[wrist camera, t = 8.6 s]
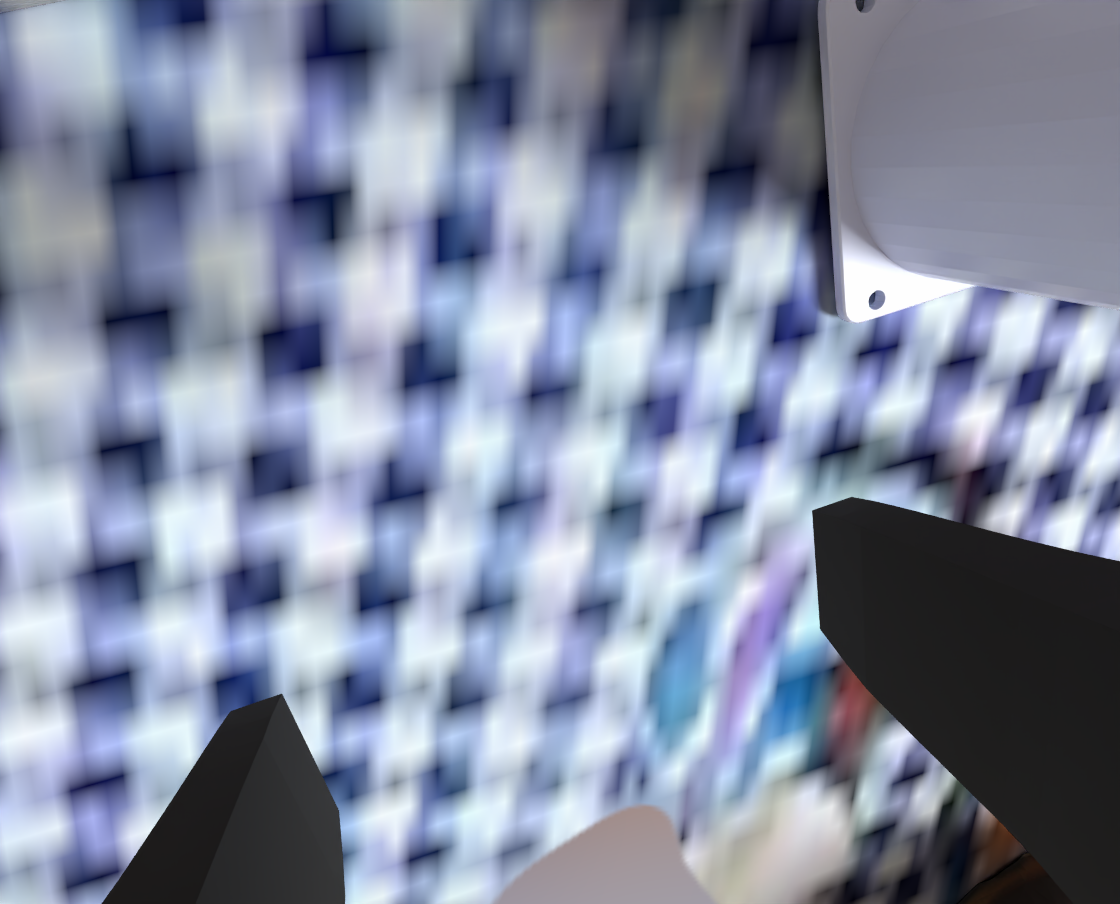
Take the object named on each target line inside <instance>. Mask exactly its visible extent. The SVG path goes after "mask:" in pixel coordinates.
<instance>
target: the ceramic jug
mask: <svg viewBox="0 0 1120 904" xmlns="http://www.w3.org/2000/svg"><path fill="white" fill-rule="evenodd" d="M958 904H1073V903H1072V902H1071V900H1070V899H1069V898H1068V897H1067V896H1066V894H1065V893H1064V892H1063V891H1062V890H1061V889H1060V887H1059V886H1058V885H1057V884H1056V883H1055V882H1054V880H1053V879H1052V878H1051V877H1050V876H1049V874H1048V873H1047V872H1046V871H1045V870H1044V869H1043V867H1042V866H1041V865H1040V864H1039V863H1038V862H1037V860H1036V859H1035V858H1034V857H1033V856H1032V855H1031V854H1030V853H1027V854H1023V855H1022V856H1021V858H1020V859H1019V860H1018V861H1017V862H1015V863H1014V864H1012V865H1011V866H1009V867H1008V868H1006V869H1005V870H1003V871H1002V872H1001V873H999V874H998V875H997V876H995V877H994V878H993V879H991V880H988V881H985V882H982V883H980V884H977V885H976V886H975V887H974V888H973V889H972V890H971V891H970V892H969V893H968V894H967V895H966V896H965V897H964V898H963V899H962V900H961V901H960V902H959V903H958Z"/></svg>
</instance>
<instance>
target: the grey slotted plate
mask: <svg viewBox="0 0 1120 904" xmlns="http://www.w3.org/2000/svg"><path fill="white" fill-rule="evenodd" d="M60 1H65V0H0V13H4V12H9V11H14V10H19V9H24V8H29V7H34V6H39V5H45V4H50V3H55V2H60Z"/></svg>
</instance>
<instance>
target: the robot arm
mask: <svg viewBox="0 0 1120 904" xmlns="http://www.w3.org/2000/svg"><path fill="white" fill-rule="evenodd" d="M855 1H856V0H819V3H818V26H819V42H820V58H821V74H822V90H823V106H824V122H825V138H826V154H827V170H828V186H829V202H830V218H831V234H832V250H833V266H834V282H835V298H836V310H837V314H838V316H839V317H840V318H841V319H842V320H844V321H847V322H850V323H854V324H855V323H862V322H865V321H868V320H871V319H874V318H877V317H881V316H884V315H887V314H890V313H893V312H896V311H899V310H902V309H906V308H909V307H912V306H915V305H918V304H921V303H924V302H927V301H931V300H934V299H937V298H940V297H943V296H946V295H949V294H952V293H955V292H959V291H962V290H965V289H968V288H971V287H974V286H981V287H987V288H993V289H999V290H1004V291H1010V292H1016V293H1022V294H1028V295H1033V296H1039V297H1045V298H1051V299H1057V300H1062V301H1068V302H1074V303H1080V304H1085V305H1091V306H1097V307H1103V308H1109V309H1114V310H1120V0H864V8H863V10H862V11H861V12H860V11H859V10H858V9H857V7H856V3H855ZM873 292H875V294H876V296H875V301H874V302H873V304H872V305H871V306H869V304H868V301H869V297H870V296H871V294H872V293H873ZM812 514H813V529H814V544H815V559H816V574H817V589H818V604H819V619H820V629H821V631H822V632H823V633H824V635H825V636H826V637H827V639H828V640H829V641H830V643H831V644H832V645H833V647H834V648H835V649H836V651H837V652H838V653H839V655H840V656H841V657H842V659H843V660H844V661H845V663H846V664H847V665H848V666H849V668H850V669H851V670H852V671H853V673H854V674H855V675H856V676H857V678H858V679H859V680H860V681H861V682H862V684H863V685H864V686H865V687H866V689H867V690H868V691H869V692H870V693H871V694H872V695H873V696H874V697H875V698H876V699H877V700H878V701H879V702H880V703H881V704H882V705H883V706H884V707H885V708H886V709H887V710H888V711H889V712H890V713H891V714H892V715H893V716H894V717H895V718H896V719H897V720H898V721H899V722H900V723H901V724H902V725H903V726H904V727H905V728H906V729H907V730H908V731H909V732H910V733H911V734H912V735H913V736H914V737H915V738H916V739H917V740H918V741H919V742H920V743H921V744H922V745H923V746H924V747H925V748H926V749H927V750H928V751H929V752H930V753H931V754H932V755H933V756H934V757H935V758H936V759H937V760H938V761H939V762H940V763H941V764H942V765H943V766H944V767H945V768H946V769H947V770H948V771H949V772H950V773H951V774H952V775H953V776H954V777H955V778H956V779H957V780H958V781H959V782H960V783H961V784H962V785H963V786H964V787H965V788H966V789H967V790H968V791H969V792H970V793H971V794H972V795H973V796H974V797H975V798H976V799H977V800H978V801H979V802H980V803H981V804H982V805H984V806H985V807H986V808H987V809H988V810H989V811H990V812H991V813H992V814H993V815H994V816H995V817H996V818H997V819H998V820H999V821H1000V822H1001V823H1002V824H1003V825H1004V826H1005V827H1006V828H1007V830H1008V831H1009V832H1010V833H1011V834H1012V835H1013V836H1014V837H1015V838H1016V839H1017V840H1018V841H1019V842H1020V843H1021V844H1022V845H1023V847H1024V848H1025V849H1026V850H1027V851H1028V852H1029V853H1030V854H1031V855H1032V856H1033V857H1034V858H1035V859H1036V860H1037V862H1038V863H1039V864H1040V865H1041V866H1042V867H1043V869H1044V870H1045V871H1046V872H1047V873H1048V874H1049V876H1050V877H1051V878H1052V879H1053V880H1054V882H1055V883H1056V884H1057V885H1058V886H1059V887H1060V889H1061V890H1062V891H1063V892H1064V893H1065V894H1066V896H1067V897H1068V898H1069V899H1070V900H1071V902H1072V903H1073V904H1120V561H1116V560H1111V559H1106V558H1102V557H1097V556H1093V555H1088V554H1083V553H1079V552H1074V551H1070V550H1066V549H1062V548H1057V547H1053V546H1049V545H1045V544H1041V543H1037V542H1032V541H1028V540H1024V539H1020V538H1016V537H1012V536H1009V535H1005V534H1001V533H997V532H993V531H989V530H985V529H981V528H978V527H974V526H970V525H966V524H962V523H958V522H955V521H951V520H947V519H943V518H939V517H936V516H932V515H928V514H924V513H920V512H916V511H913V510H909V509H904V508H900V507H896V506H892V505H888V504H884V503H880V502H875V501H870V500H865V499H860V498H854V497H850V498H847V499H844V500H841V501H838V502H836V503H833V504H830V505H827V506H824V507H821V508H818V509H815V510H812ZM102 904H345V886H344V869H343V854H342V842H341V830H340V818H339V810H338V808H337V806H336V804H335V802H334V800H333V798H332V796H331V793H330V791H329V789H328V787H327V785H326V783H325V781H324V779H323V777H322V775H321V773H320V771H319V769H318V767H317V765H316V763H315V761H314V758H313V756H312V754H311V752H310V750H309V748H308V746H307V744H306V742H305V740H304V738H303V736H302V734H301V732H300V730H299V728H298V726H297V723H296V721H295V719H294V717H293V715H292V713H291V711H290V709H289V707H288V705H287V703H286V701H285V699H284V697H283V695H282V694H279V695H277V696H274V697H271V698H268V699H265V700H262V701H259V702H256V703H253V704H250V705H248V706H245V707H242V708H239V709H236V710H233V711H230V713H229V714H228V716H227V717H226V718H225V720H224V721H223V723H222V724H221V726H220V727H219V729H218V730H217V732H216V733H215V735H214V736H213V738H212V739H211V741H210V742H209V744H208V745H207V747H206V748H205V750H204V751H203V753H202V755H201V756H200V758H199V759H198V761H197V762H196V764H195V765H194V767H193V768H192V770H191V772H190V773H189V775H188V776H187V778H186V779H185V781H184V782H183V784H182V785H181V787H180V789H179V790H178V792H177V793H176V795H175V796H174V798H173V799H172V801H171V802H170V804H169V805H168V807H167V808H166V810H165V811H164V813H163V814H162V816H161V817H160V819H159V820H158V822H157V823H156V825H155V826H154V828H153V829H152V831H151V832H150V834H149V835H148V837H147V838H146V840H145V841H144V843H143V844H142V846H141V847H140V849H139V850H138V852H137V853H136V855H135V856H134V858H133V859H132V861H131V862H130V864H129V865H128V867H127V868H126V870H125V871H124V873H123V874H122V876H121V877H120V879H119V880H118V882H117V883H116V884H115V886H114V887H113V889H112V890H111V891H110V893H109V894H108V896H107V897H106V898H105V900H104V901H103V903H102Z"/></svg>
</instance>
